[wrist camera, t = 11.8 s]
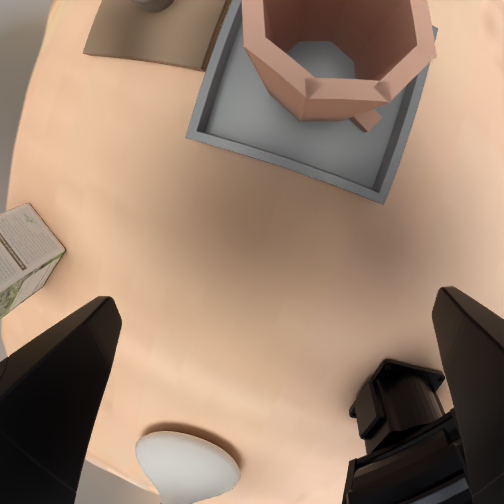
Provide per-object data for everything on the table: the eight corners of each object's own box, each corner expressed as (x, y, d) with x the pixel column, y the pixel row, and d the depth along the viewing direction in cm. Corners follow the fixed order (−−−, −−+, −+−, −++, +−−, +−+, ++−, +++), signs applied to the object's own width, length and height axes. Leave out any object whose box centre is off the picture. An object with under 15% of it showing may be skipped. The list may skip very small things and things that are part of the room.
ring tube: (247, 77, 17) (200, 17, 7) (312, 15, 15) (325, -82, 6) (337, 158, 18) (384, 177, 8) (400, 95, 16) (491, 63, 7)
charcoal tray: (424, 38, 15) (437, 28, 13) (374, 197, 19) (383, 205, 17) (252, -20, 15) (247, -36, 13) (197, 137, 19) (185, 137, 17)
